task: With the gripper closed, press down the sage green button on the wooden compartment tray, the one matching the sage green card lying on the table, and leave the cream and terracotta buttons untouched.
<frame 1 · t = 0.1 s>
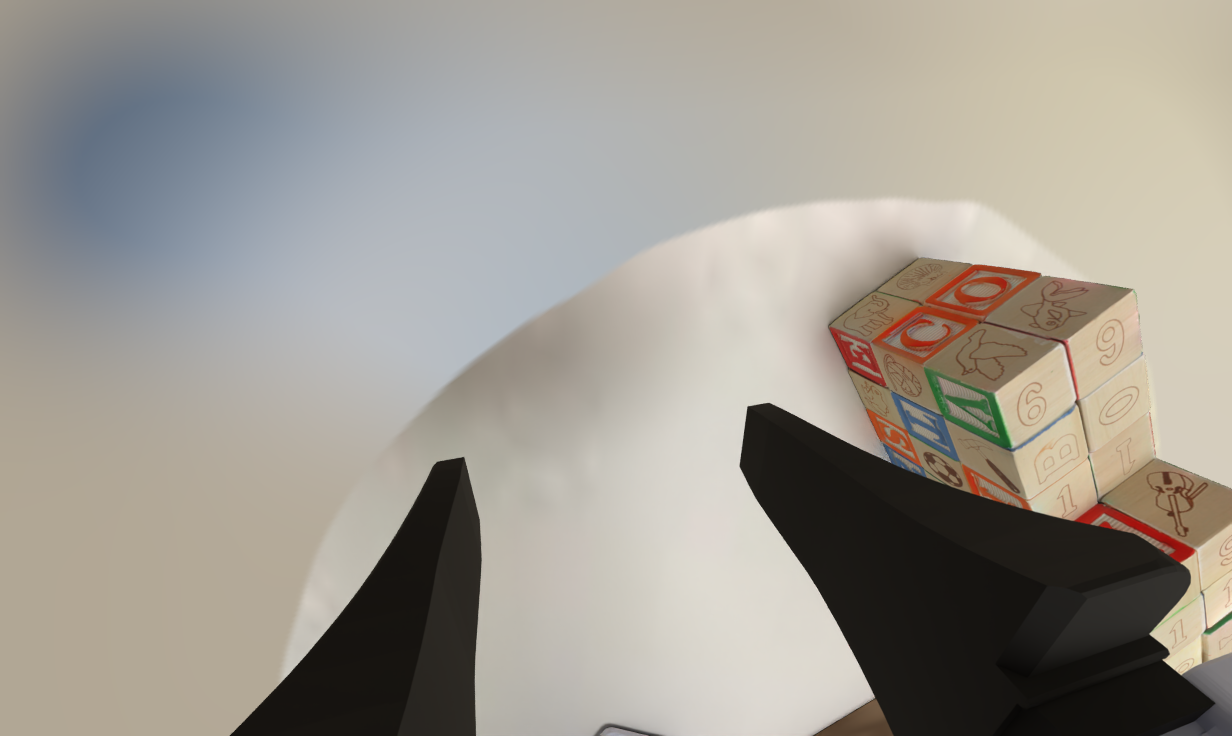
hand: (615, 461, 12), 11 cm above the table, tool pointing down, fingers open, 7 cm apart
stack of blocks: (924, 427, 29), on the table
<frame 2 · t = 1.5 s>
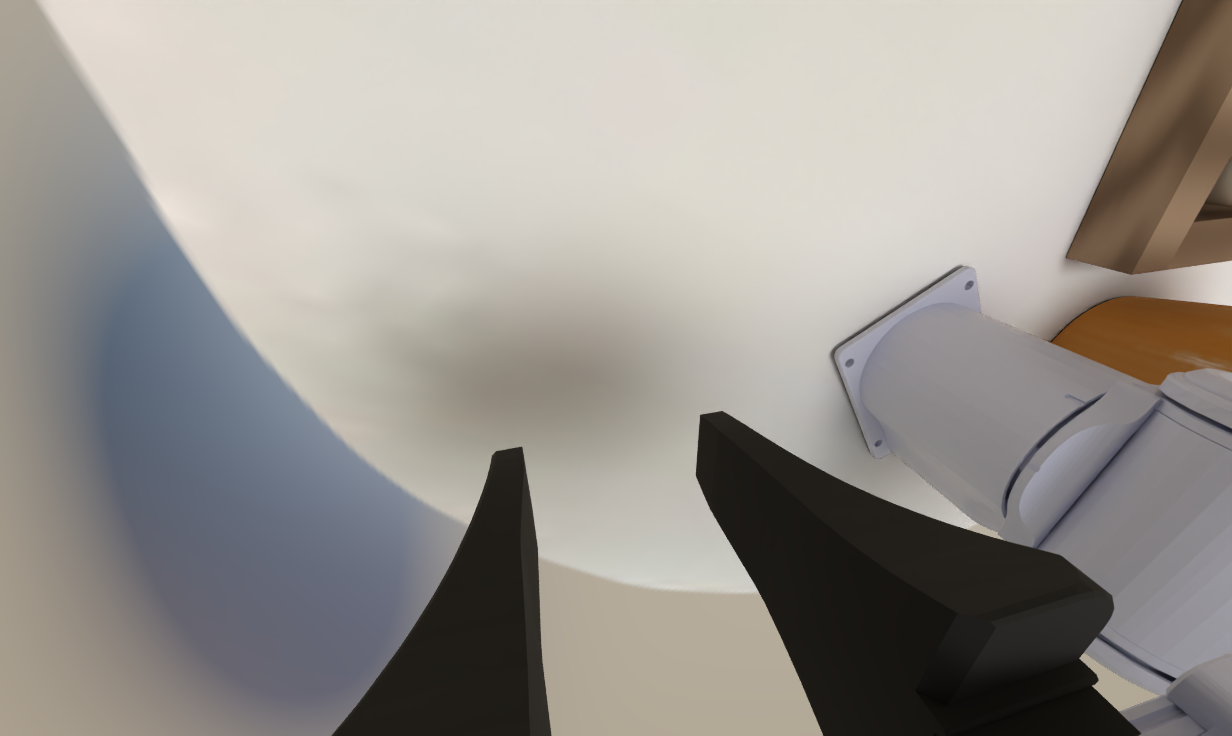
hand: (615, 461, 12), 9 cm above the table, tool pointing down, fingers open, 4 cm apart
flower pot: (1080, 358, 30), on the table
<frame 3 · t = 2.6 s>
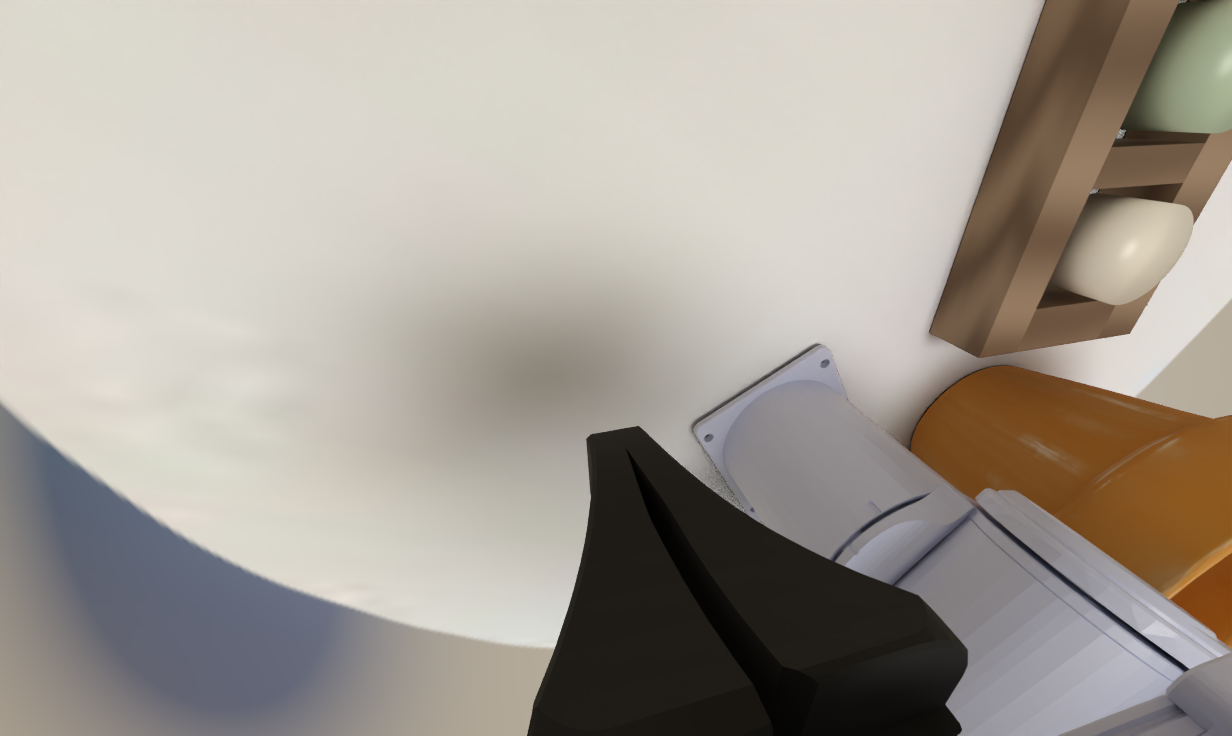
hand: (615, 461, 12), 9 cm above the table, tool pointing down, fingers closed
wooden compartment tray: (1110, 72, 21), on the table
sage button: (1200, 67, 18), point 3 cm above the table, slide at 0.0 cm
cream button: (1108, 248, 21), point 3 cm above the table, slide at 0.0 cm
flower pot: (963, 421, 30), on the table
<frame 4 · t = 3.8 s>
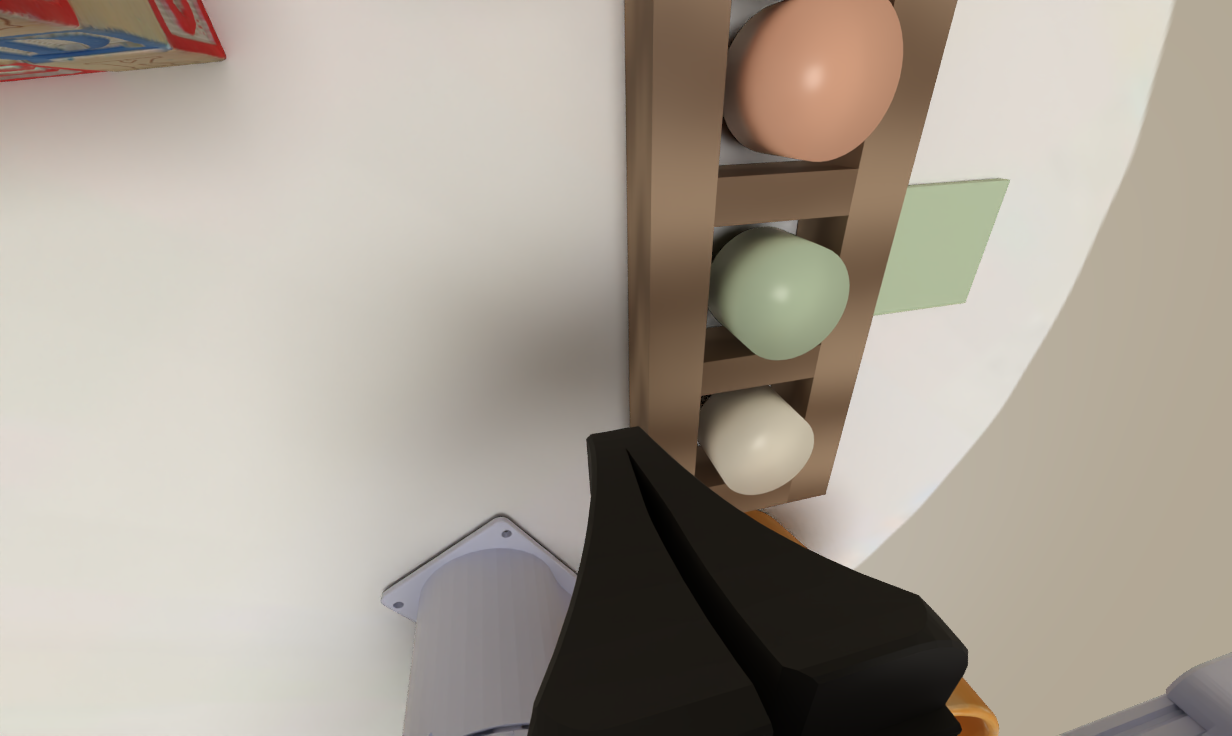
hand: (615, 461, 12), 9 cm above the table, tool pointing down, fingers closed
wooden compartment tray: (737, 269, 21), on the table
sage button: (773, 292, 18), point 3 cm above the table, slide at 0.0 cm
cream button: (752, 436, 22), point 3 cm above the table, slide at 0.0 cm
flower pot: (714, 553, 31), on the table
colour card: (926, 248, 23), on the table
terracotta button: (805, 80, 15), point 3 cm above the table, slide at 0.0 cm
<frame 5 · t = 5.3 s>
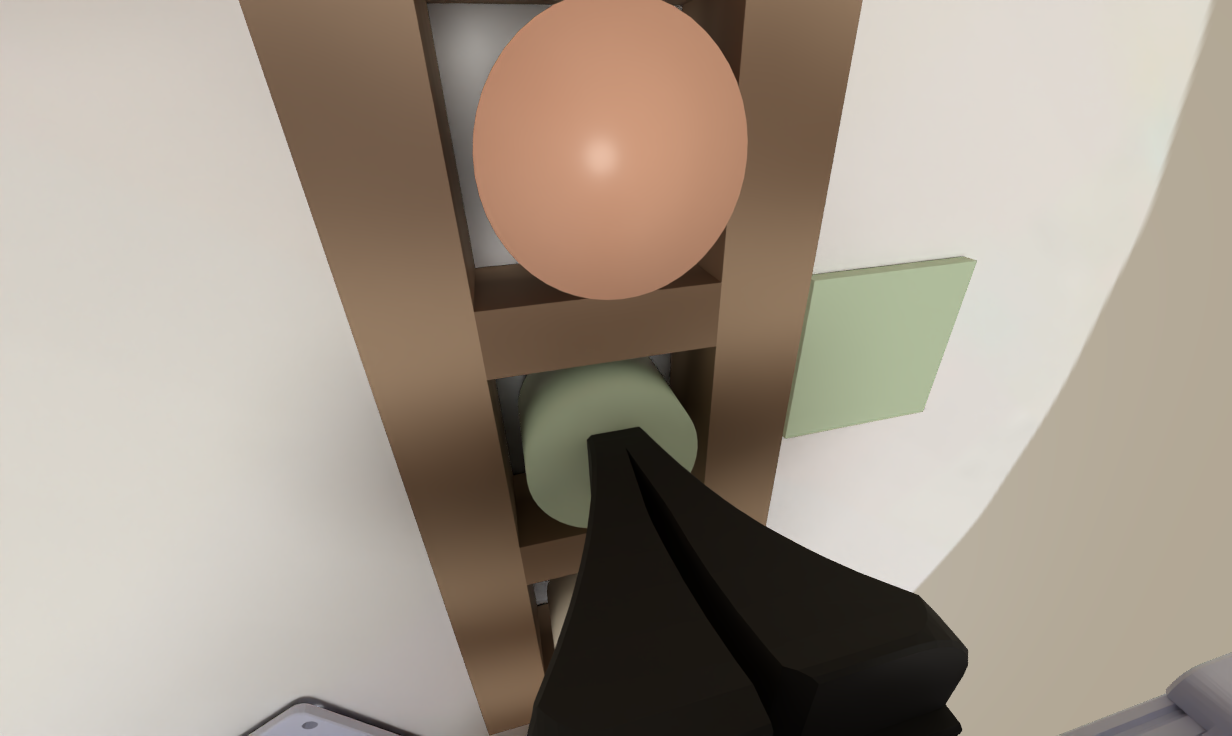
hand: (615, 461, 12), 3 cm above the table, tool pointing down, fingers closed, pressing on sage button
wooden compartment tray: (588, 393, 15), on the table
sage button: (602, 430, 13), point 2 cm above the table, slide at 1.1 cm, touching gripper
cream button: (618, 618, 16), point 3 cm above the table, slide at 0.0 cm
colour card: (865, 348, 17), on the table
terracotta button: (599, 158, 9), point 3 cm above the table, slide at 0.0 cm
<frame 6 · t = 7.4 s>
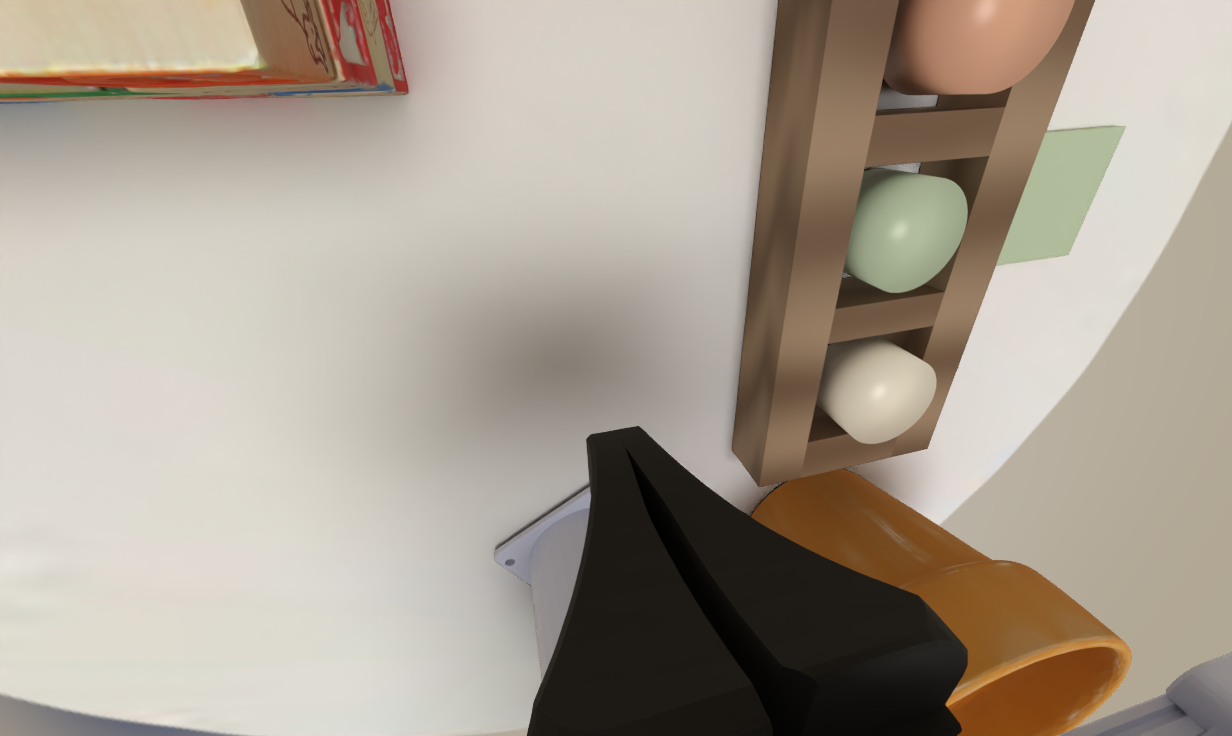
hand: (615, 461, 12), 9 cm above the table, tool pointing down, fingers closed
wooden compartment tray: (856, 219, 21), on the table
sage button: (889, 229, 19), point 2 cm above the table, slide at 1.1 cm
cream button: (869, 386, 22), point 3 cm above the table, slide at 0.0 cm
flower pot: (801, 515, 31), on the table
colour card: (1036, 198, 23), on the table
terracotta button: (969, 14, 15), point 3 cm above the table, slide at 0.0 cm
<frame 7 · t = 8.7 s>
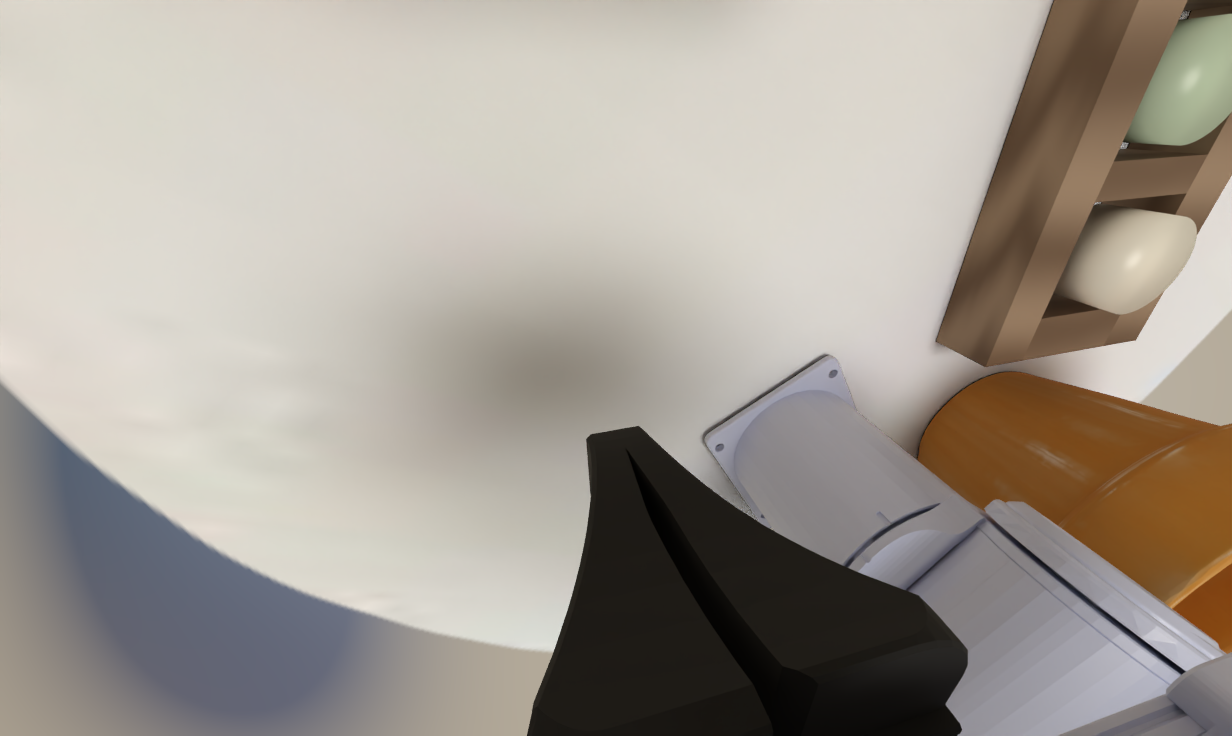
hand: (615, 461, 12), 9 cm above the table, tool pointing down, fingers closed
wooden compartment tray: (1112, 85, 21), on the table
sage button: (1166, 83, 19), point 2 cm above the table, slide at 1.1 cm
cream button: (1112, 258, 22), point 3 cm above the table, slide at 0.0 cm
flower pot: (971, 426, 31), on the table
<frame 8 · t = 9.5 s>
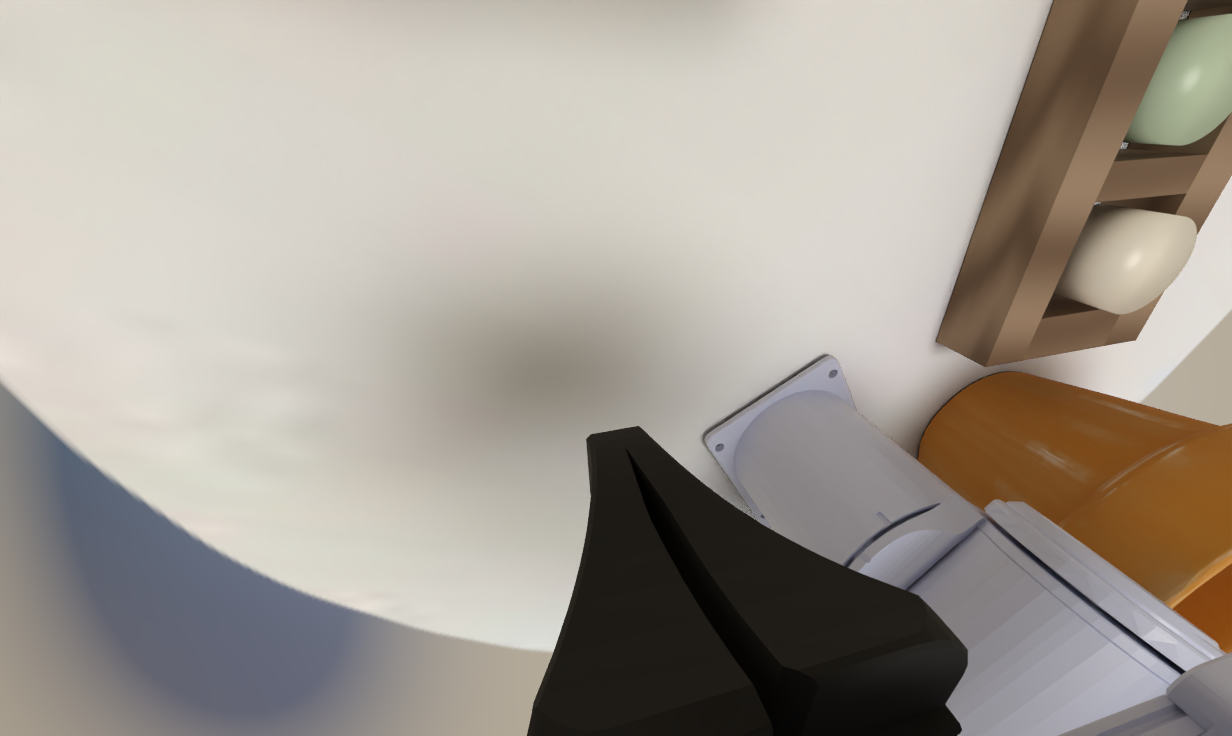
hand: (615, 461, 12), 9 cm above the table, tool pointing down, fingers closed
wooden compartment tray: (1112, 85, 21), on the table
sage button: (1166, 83, 19), point 2 cm above the table, slide at 1.1 cm
cream button: (1112, 258, 22), point 3 cm above the table, slide at 0.0 cm
flower pot: (971, 426, 31), on the table
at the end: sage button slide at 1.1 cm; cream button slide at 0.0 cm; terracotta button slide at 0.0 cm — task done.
